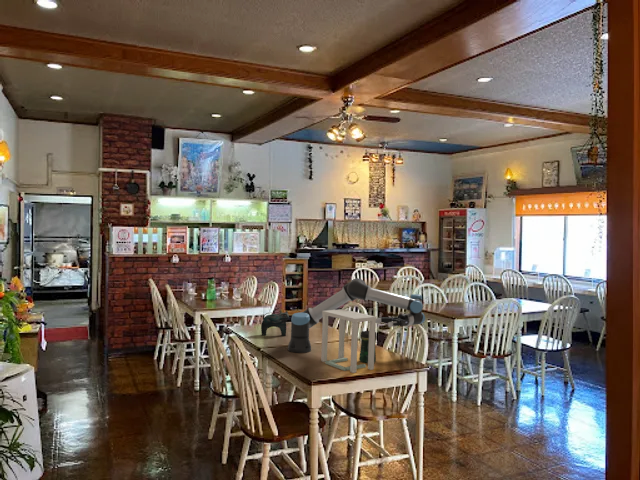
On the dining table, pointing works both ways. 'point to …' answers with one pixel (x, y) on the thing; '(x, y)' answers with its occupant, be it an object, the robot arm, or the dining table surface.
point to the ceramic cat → (275, 322)
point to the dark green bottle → (365, 346)
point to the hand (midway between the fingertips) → (380, 322)
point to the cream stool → (354, 318)
